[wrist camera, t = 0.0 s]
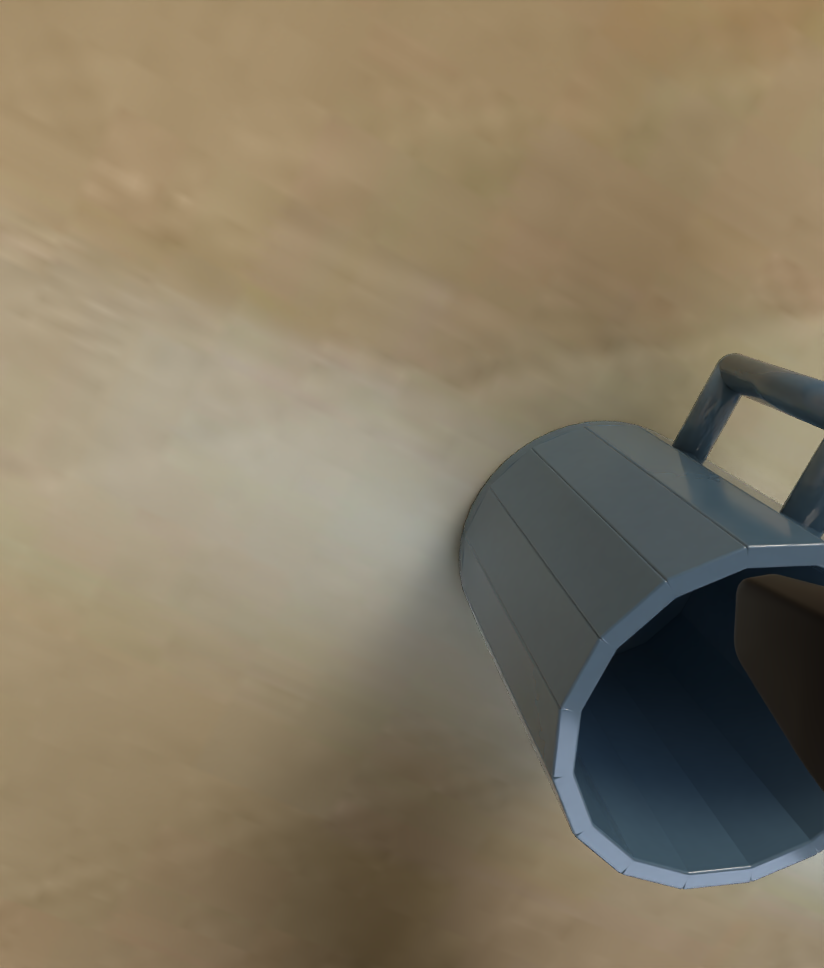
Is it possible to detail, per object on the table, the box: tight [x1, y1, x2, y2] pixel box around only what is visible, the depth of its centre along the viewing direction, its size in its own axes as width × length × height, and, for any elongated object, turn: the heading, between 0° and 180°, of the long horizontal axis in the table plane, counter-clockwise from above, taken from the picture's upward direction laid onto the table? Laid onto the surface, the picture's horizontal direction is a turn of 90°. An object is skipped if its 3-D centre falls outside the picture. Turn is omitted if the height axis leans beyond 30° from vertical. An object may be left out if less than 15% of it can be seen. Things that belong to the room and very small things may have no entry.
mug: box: [459, 353, 824, 889], centre depth 21 cm, size 12×9×10 cm
